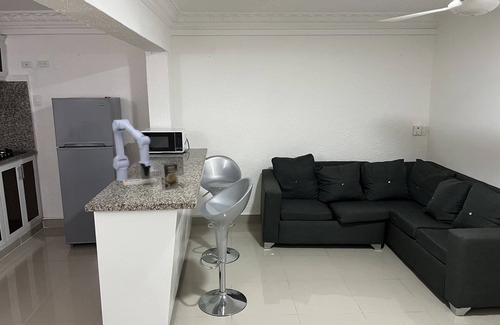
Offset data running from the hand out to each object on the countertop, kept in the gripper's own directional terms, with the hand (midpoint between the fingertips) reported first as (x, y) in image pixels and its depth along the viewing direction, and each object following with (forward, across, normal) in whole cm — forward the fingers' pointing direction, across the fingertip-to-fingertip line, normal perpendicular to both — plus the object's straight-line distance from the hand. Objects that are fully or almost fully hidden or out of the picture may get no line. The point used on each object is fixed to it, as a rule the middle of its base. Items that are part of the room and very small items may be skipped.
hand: (145, 174), depth 252 cm
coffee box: (+8, +11, +14) cm, 19 cm away
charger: (+2, 0, 0) cm, 2 cm away
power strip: (+8, -9, -3) cm, 12 cm away
